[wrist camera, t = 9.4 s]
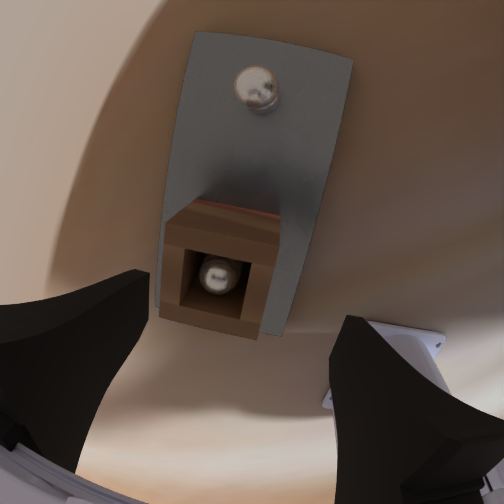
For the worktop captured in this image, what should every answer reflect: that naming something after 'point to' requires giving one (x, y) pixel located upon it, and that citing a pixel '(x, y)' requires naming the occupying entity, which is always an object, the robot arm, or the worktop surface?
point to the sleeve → (226, 245)
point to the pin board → (256, 148)
